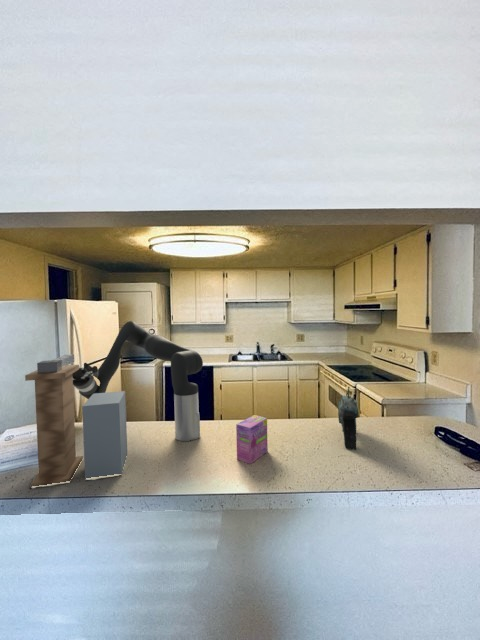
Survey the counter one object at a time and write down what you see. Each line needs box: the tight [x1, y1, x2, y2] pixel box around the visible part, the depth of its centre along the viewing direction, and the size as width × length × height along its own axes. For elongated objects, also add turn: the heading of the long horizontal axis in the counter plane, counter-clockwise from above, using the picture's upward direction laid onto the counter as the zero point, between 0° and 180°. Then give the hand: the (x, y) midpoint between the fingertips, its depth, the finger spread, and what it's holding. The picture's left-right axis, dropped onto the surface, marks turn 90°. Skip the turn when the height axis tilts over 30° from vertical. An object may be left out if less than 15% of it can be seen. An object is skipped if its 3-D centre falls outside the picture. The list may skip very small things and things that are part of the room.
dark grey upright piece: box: [337, 386, 359, 450], centre depth 111 cm, size 20×6×20 cm, turn 165°
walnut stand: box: [24, 364, 84, 488], centre depth 92 cm, size 10×14×32 cm
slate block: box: [81, 390, 128, 480], centre depth 95 cm, size 10×14×22 cm
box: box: [235, 414, 268, 465], centre depth 101 cm, size 10×6×12 cm, turn 143°
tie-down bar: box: [36, 354, 75, 374], centre depth 96 cm, size 20×5×3 cm, turn 14°
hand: (71, 366), depth 108 cm, fingers open, 8 cm apart
